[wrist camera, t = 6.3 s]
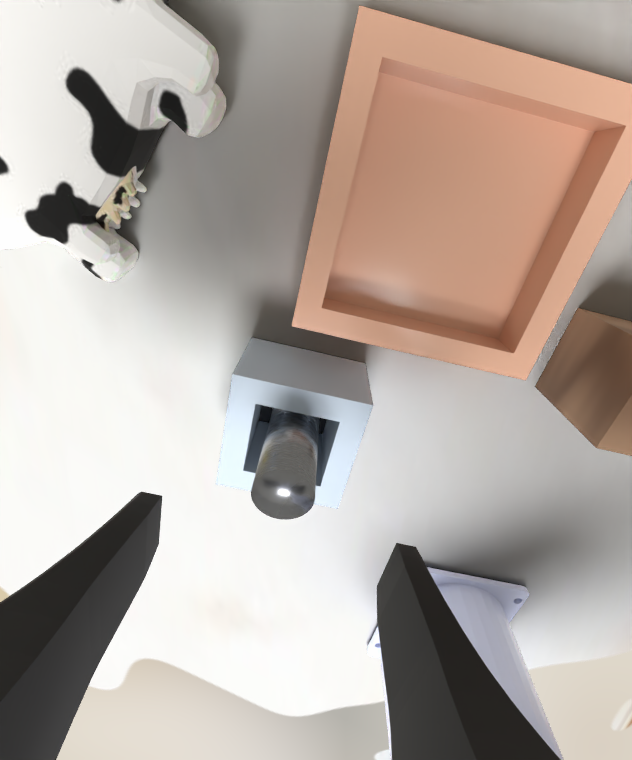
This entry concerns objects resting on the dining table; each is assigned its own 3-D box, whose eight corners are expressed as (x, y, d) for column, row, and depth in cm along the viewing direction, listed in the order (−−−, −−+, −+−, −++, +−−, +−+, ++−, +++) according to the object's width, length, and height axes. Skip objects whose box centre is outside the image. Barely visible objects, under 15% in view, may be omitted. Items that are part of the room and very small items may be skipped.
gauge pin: (315, 420, 20) (307, 524, 14) (273, 410, 20) (246, 512, 14) (325, 383, 19) (322, 477, 13) (281, 373, 19) (256, 463, 13)
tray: (505, 359, 19) (525, 380, 17) (295, 310, 18) (291, 326, 16) (627, 108, 14) (675, 96, 12) (355, 31, 13) (359, 5, 11)
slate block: (337, 454, 21) (337, 508, 18) (235, 432, 21) (215, 484, 17) (365, 363, 19) (373, 405, 15) (251, 337, 19) (232, 374, 15)
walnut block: (611, 404, 19) (694, 470, 15) (534, 386, 19) (596, 447, 15) (660, 328, 18) (772, 377, 13) (577, 307, 17) (662, 350, 13)
